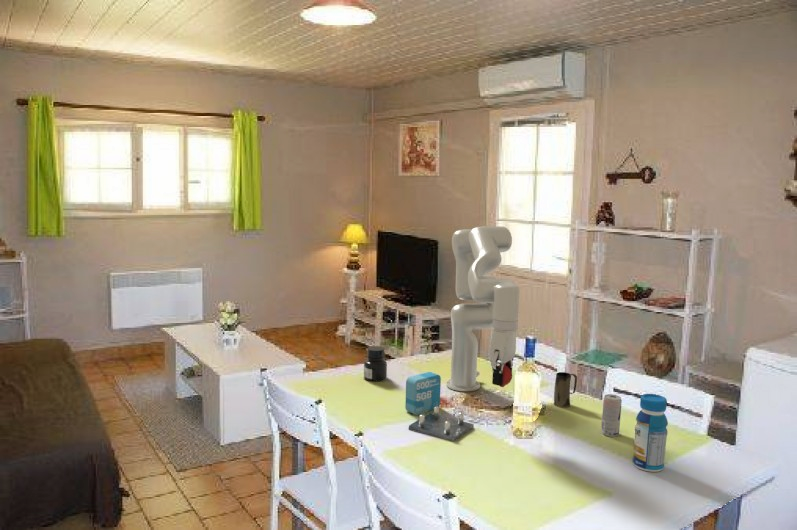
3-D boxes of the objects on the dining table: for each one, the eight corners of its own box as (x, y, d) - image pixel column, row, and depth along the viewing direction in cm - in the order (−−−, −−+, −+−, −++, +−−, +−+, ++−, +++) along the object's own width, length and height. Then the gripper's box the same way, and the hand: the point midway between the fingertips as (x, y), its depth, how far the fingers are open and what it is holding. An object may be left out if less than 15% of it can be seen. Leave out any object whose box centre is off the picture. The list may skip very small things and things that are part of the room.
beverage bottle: (661, 475, 177) (667, 405, 174) (628, 467, 181) (634, 398, 178) (666, 464, 184) (672, 396, 181) (635, 457, 188) (641, 390, 186)
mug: (550, 404, 230) (552, 371, 228) (559, 400, 234) (561, 368, 232) (569, 410, 224) (571, 376, 222) (578, 407, 228) (581, 373, 226)
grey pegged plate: (429, 416, 215) (430, 402, 215) (473, 427, 207) (474, 413, 206) (408, 429, 205) (409, 414, 204) (454, 441, 196) (454, 426, 195)
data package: (413, 415, 216) (414, 380, 214) (404, 411, 219) (405, 377, 218) (440, 408, 224) (441, 374, 222) (431, 404, 227) (432, 370, 225)
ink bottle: (363, 374, 258) (363, 345, 256) (385, 374, 259) (386, 345, 257) (364, 382, 248) (364, 352, 246) (387, 382, 249) (388, 351, 247)
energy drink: (620, 432, 206) (622, 395, 204) (617, 438, 201) (620, 401, 200) (602, 429, 208) (605, 393, 207) (599, 435, 204) (602, 398, 202)
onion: (499, 391, 196) (500, 365, 195) (488, 385, 202) (489, 360, 200) (515, 388, 199) (516, 363, 198) (503, 382, 204) (505, 358, 203)
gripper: (505, 317, 206) (502, 372, 209) (481, 328, 192) (478, 387, 195) (527, 321, 202) (524, 377, 205) (505, 332, 188) (501, 392, 191)
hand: (502, 381), depth 200 cm, fingers closed on onion, 5 cm apart
